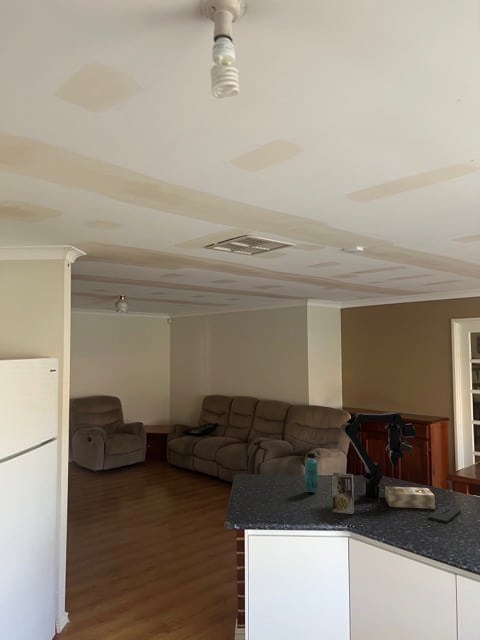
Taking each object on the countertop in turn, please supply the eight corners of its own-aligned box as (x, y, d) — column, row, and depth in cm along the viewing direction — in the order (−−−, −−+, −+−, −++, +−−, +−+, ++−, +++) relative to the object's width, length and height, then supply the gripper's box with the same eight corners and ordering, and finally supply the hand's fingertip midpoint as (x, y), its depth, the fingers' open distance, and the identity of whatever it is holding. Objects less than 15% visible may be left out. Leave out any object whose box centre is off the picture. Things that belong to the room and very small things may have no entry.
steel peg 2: (417, 504, 220) (416, 492, 220) (415, 502, 223) (415, 490, 224) (425, 504, 219) (424, 492, 220) (423, 502, 223) (422, 490, 223)
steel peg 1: (395, 503, 221) (394, 491, 222) (393, 501, 225) (393, 489, 225) (403, 503, 221) (402, 491, 221) (401, 501, 224) (401, 489, 225)
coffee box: (354, 510, 212) (353, 473, 213) (353, 514, 206) (352, 477, 207) (334, 507, 215) (333, 472, 216) (332, 512, 209) (331, 475, 210)
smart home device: (461, 509, 210) (446, 520, 195) (461, 513, 210) (447, 524, 195) (442, 505, 216) (426, 516, 201) (442, 509, 215) (426, 520, 201)
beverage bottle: (303, 491, 242) (303, 451, 244) (316, 490, 243) (315, 451, 244) (306, 494, 236) (306, 454, 237) (319, 494, 236) (318, 454, 238)
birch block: (389, 506, 217) (389, 493, 218) (385, 498, 229) (385, 486, 230) (434, 508, 215) (434, 495, 215) (428, 500, 226) (427, 488, 227)
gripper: (414, 441, 228) (415, 473, 227) (407, 435, 247) (408, 465, 245) (390, 440, 230) (391, 472, 229) (385, 434, 249) (386, 464, 247)
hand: (394, 468), depth 238 cm, fingers closed
